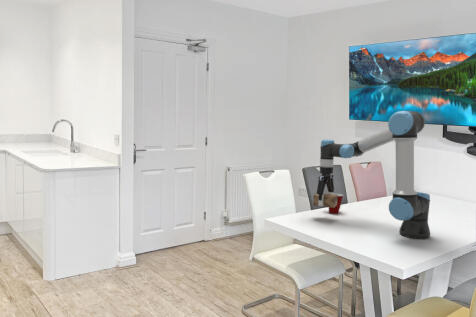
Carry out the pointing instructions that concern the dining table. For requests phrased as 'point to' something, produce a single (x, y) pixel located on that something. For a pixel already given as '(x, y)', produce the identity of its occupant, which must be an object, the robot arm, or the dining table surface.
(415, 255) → the dining table surface
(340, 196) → the plastic cup
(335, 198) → the brown wooden block
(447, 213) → the dining table surface
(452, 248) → the dining table surface
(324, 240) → the dining table surface
